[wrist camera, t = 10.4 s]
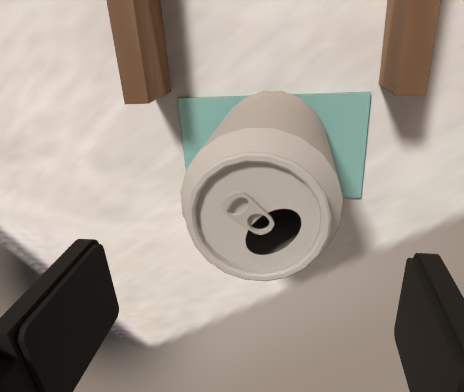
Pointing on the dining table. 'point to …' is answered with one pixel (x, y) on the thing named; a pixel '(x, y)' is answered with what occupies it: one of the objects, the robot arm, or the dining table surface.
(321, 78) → the dining table surface
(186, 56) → the dining table surface
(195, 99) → the pad
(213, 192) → the can
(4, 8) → the dining table surface
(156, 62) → the wooden corridor walls
